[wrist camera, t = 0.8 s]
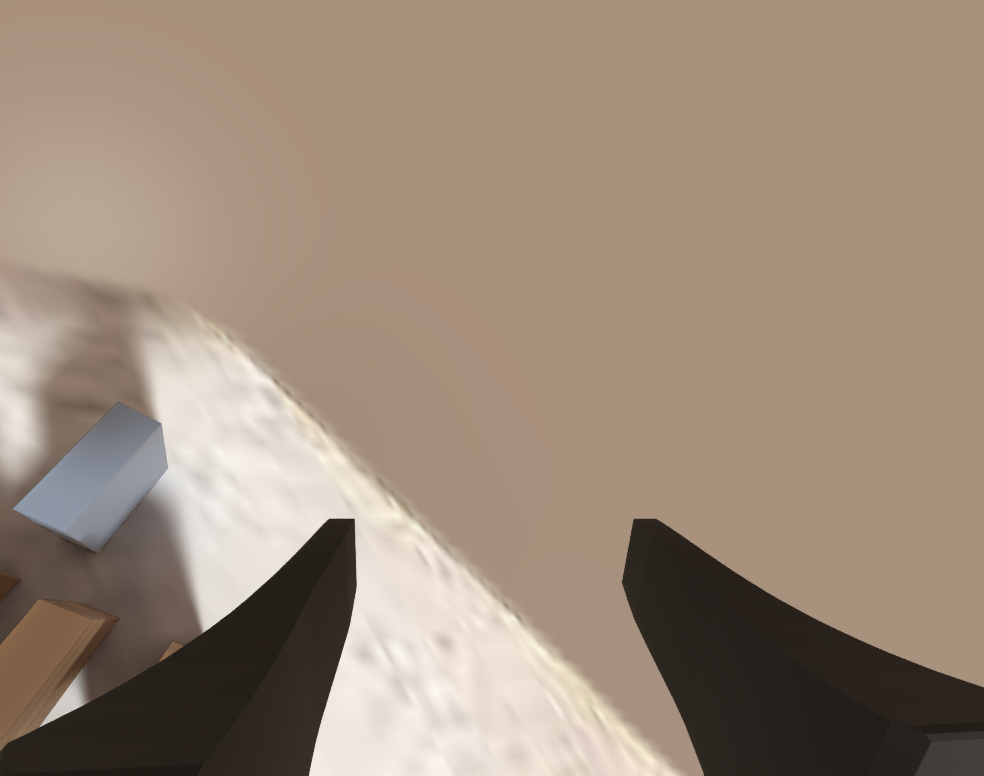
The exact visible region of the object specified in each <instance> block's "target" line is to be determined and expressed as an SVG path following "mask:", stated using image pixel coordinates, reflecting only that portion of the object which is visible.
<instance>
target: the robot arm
mask: <svg viewBox="0 0 984 776" xmlns="http://www.w3.org/2000/svg"><path fill="white" fill-rule="evenodd" d="M622 584H623V587H624V590H625V593H626V597H627V600H628V603H629V606H630V608H631V611H632V614H633V617H634V620H635V621H636V624H637V626H638V628H639V630H640V632H641V634H642V636H643V638H644V640H645V643H646V645H647V647H648V649H649V651H650V653H651V655H652V657H653V659H654V661H655V663H656V665H657V667H658V669H659V671H660V673H661V675H662V677H663V679H664V681H665V683H666V685H667V687H668V689H669V691H670V693H671V695H672V697H673V699H674V701H675V703H676V706H677V708H678V710H679V712H680V714H681V717H682V719H683V721H684V723H685V726H686V728H687V731H688V734H689V736H690V739H691V741H692V744H693V747H694V749H695V752H696V754H697V757H698V759H699V762H700V765H701V767H702V770H703V773H704V776H984V687H981V686H978V685H975V684H972V683H969V682H966V681H963V680H960V679H957V678H954V677H951V676H948V675H945V674H943V673H939V672H937V671H934V670H931V669H928V668H926V667H923V666H921V665H918V664H916V663H913V662H910V661H908V660H906V659H903V658H901V657H898V656H896V655H893V654H891V653H888V652H886V651H883V650H881V649H879V648H876V647H874V646H872V645H869V644H867V643H865V642H863V641H860V640H858V639H856V638H854V637H852V636H850V635H847V634H845V633H843V632H841V631H839V630H836V629H835V628H832V627H830V626H828V625H826V624H824V623H822V622H820V621H818V620H816V619H814V618H812V617H810V616H809V615H807V614H805V613H803V612H801V611H799V610H797V609H795V608H794V607H792V606H790V605H788V604H786V603H785V602H783V601H781V600H779V599H777V598H776V597H774V596H772V595H771V594H769V593H767V592H765V591H764V590H762V589H761V588H759V587H757V586H756V585H754V584H752V583H751V582H749V581H748V580H746V579H745V578H743V577H741V576H740V575H738V574H737V573H735V572H734V571H732V570H731V569H729V568H728V567H726V566H725V565H723V564H722V563H720V562H719V561H717V560H716V559H714V558H713V557H712V556H710V555H709V554H707V553H706V552H704V551H703V550H701V549H700V548H698V547H697V546H696V545H694V544H693V543H691V542H690V541H689V540H687V539H686V538H684V537H683V536H681V535H680V534H678V533H677V532H676V531H674V530H673V529H671V528H670V527H668V526H666V525H665V524H663V523H662V522H660V521H658V520H657V519H634V520H633V525H632V531H631V536H630V542H629V547H628V553H627V558H626V564H625V569H624V574H623V580H622ZM356 587H357V581H356V549H355V519H329V520H327V521H326V522H325V523H324V524H323V525H322V526H321V527H320V528H319V529H318V531H317V532H316V533H315V534H314V535H313V536H312V537H311V538H310V539H309V540H308V541H307V542H306V543H305V544H304V545H303V547H302V548H301V549H300V550H299V551H298V552H297V553H296V554H295V555H294V556H293V557H292V558H291V559H290V560H289V561H288V562H287V563H286V564H285V565H284V566H283V567H282V568H281V569H280V570H279V571H278V572H277V573H275V574H274V575H273V576H272V577H271V578H270V579H269V580H268V581H267V582H266V583H265V584H263V585H262V586H261V587H260V588H259V589H258V590H257V591H256V592H254V593H253V594H252V595H251V596H250V597H249V598H248V599H247V600H245V601H244V602H243V603H242V604H241V605H239V606H238V607H237V608H236V609H235V610H233V611H232V612H231V613H230V614H228V615H227V616H226V617H224V618H223V619H222V620H220V621H219V622H218V623H216V624H215V625H214V626H212V627H211V628H210V629H208V630H207V631H205V632H204V633H203V634H201V635H200V636H198V637H197V638H195V639H194V640H192V641H191V642H189V643H188V644H186V645H185V646H183V647H182V648H180V649H179V650H177V651H176V652H174V653H173V654H171V655H170V656H168V657H167V658H165V659H163V660H162V661H160V662H159V663H157V664H156V665H154V666H152V667H151V668H149V669H147V670H146V671H144V672H142V673H141V674H139V675H137V676H136V677H134V678H132V679H131V680H129V681H127V682H125V683H124V684H122V685H120V686H118V687H116V688H115V689H113V690H111V691H109V692H107V693H106V694H104V695H102V696H100V697H98V698H97V699H95V700H93V701H91V702H89V703H87V704H85V705H83V706H82V707H80V708H77V709H75V710H73V711H71V712H69V713H67V714H65V715H63V716H61V717H59V718H57V719H55V720H53V721H51V722H49V723H47V724H45V725H43V726H41V727H39V728H37V729H35V730H33V731H31V732H29V733H27V734H25V735H23V736H21V737H19V738H17V739H15V740H12V741H10V742H8V743H7V744H6V745H5V746H4V747H3V749H2V750H1V751H0V776H309V772H310V767H311V762H312V757H313V752H314V748H315V743H316V739H317V735H318V731H319V728H320V724H321V720H322V717H323V713H324V710H325V707H326V703H327V700H328V697H329V693H330V690H331V687H332V683H333V680H334V677H335V674H336V670H337V667H338V664H339V660H340V657H341V654H342V650H343V647H344V644H345V640H346V637H347V633H348V630H349V626H350V621H351V616H352V610H353V605H354V599H355V593H356Z"/></svg>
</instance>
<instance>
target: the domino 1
mask: <svg viewBox="0 0 984 776" xmlns="http://www.w3.org/2000/svg"><path fill="white" fill-rule="evenodd" d="M167 469H168V465H167V458H166V451H165V445H164V438H163V432H162V425H161V423H159V422H157V421H155V420H153V419H151V418H150V417H148V416H146V415H144V414H142V413H140V412H138V411H136V410H134V409H132V408H130V407H128V406H126V405H124V404H123V403H121V402H118V403H117V404H116V405H115V406H114V407H113V408H112V409H111V410H110V411H109V412H108V413H107V414H106V415H105V416H104V417H103V418H102V419H101V420H100V421H99V422H98V423H97V424H96V425H95V426H94V427H93V428H92V429H91V430H90V431H89V432H88V433H87V434H86V435H85V436H84V437H83V438H82V439H81V440H80V441H79V442H78V443H77V444H76V445H75V446H74V447H73V448H72V449H71V450H70V451H69V452H68V453H67V454H66V455H65V456H64V457H63V458H62V459H61V460H60V461H59V463H58V464H57V465H56V466H55V467H54V468H53V469H52V470H51V471H50V472H49V473H48V474H47V475H46V476H45V477H44V478H43V479H42V480H41V481H40V482H39V483H38V484H37V485H36V486H35V487H34V488H33V489H32V490H31V491H30V492H29V493H28V494H27V495H26V496H25V497H24V498H23V499H22V500H21V501H20V502H19V503H18V504H17V505H16V506H15V507H14V508H13V510H15V511H17V512H18V513H20V514H22V515H23V516H25V517H27V518H28V519H30V520H32V521H33V522H35V523H37V524H38V525H40V526H42V527H43V528H45V529H47V530H49V531H50V532H52V533H54V534H55V535H57V536H59V537H60V538H63V539H65V540H67V541H70V542H72V543H74V544H77V545H79V546H81V547H84V548H86V549H88V550H91V551H93V552H95V553H99V552H100V550H101V549H102V548H103V547H104V546H105V544H106V543H107V542H108V541H109V539H110V538H111V537H112V536H113V535H114V533H115V532H116V531H117V530H118V529H119V527H120V526H121V525H122V524H123V522H124V521H125V520H126V519H127V518H128V516H129V515H130V514H131V513H132V512H133V510H134V509H135V508H136V507H137V505H138V504H139V503H140V502H141V501H142V499H143V498H144V497H145V496H146V495H147V493H148V492H149V491H150V490H151V488H152V487H153V486H154V485H155V484H156V482H157V481H158V480H159V479H160V478H161V476H162V475H163V474H164V473H165V471H166V470H167Z"/></svg>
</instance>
